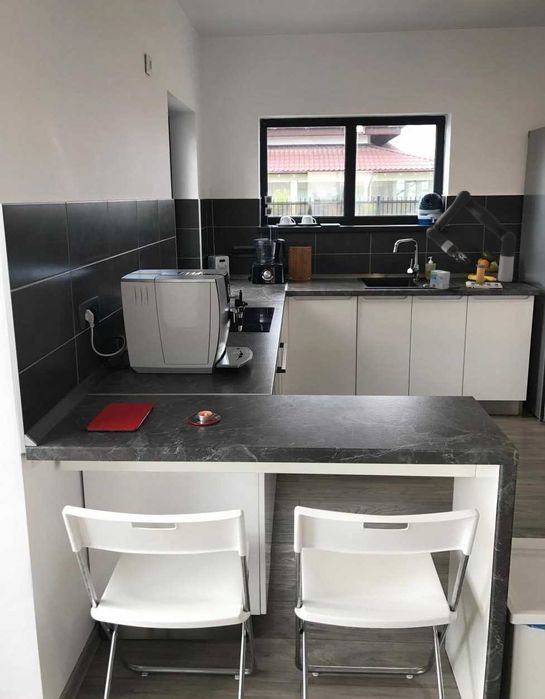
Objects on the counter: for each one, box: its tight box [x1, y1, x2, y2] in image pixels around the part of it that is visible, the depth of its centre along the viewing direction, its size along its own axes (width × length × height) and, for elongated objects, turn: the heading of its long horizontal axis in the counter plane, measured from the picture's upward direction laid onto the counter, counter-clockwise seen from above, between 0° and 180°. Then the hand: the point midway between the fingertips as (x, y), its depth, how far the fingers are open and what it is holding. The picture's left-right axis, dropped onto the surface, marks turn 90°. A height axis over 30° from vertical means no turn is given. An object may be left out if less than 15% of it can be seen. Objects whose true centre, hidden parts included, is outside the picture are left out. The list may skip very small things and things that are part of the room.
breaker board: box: [465, 281, 503, 289], centre depth 451 cm, size 22×14×3 cm, turn 78°
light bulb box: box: [429, 269, 451, 290], centre depth 443 cm, size 11×7×11 cm, turn 37°
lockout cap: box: [475, 263, 486, 284], centre depth 451 cm, size 5×5×12 cm
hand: (467, 263), depth 463 cm, fingers open, 8 cm apart
